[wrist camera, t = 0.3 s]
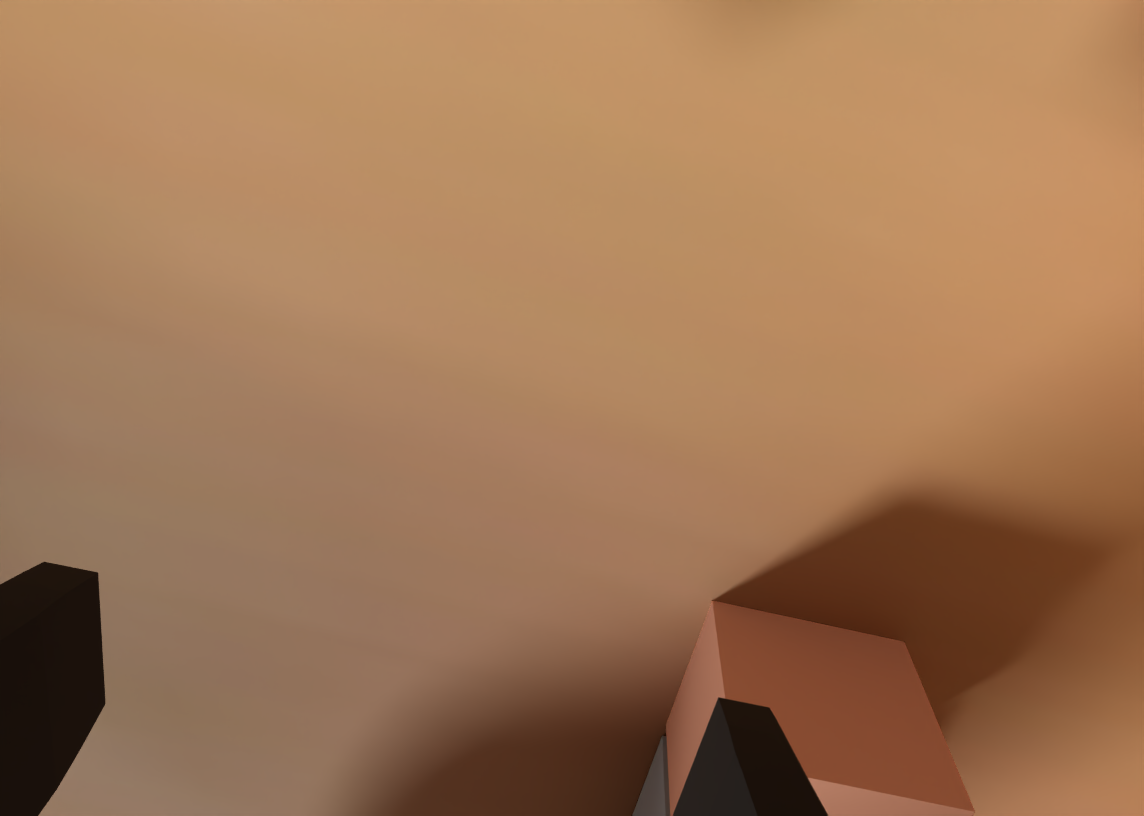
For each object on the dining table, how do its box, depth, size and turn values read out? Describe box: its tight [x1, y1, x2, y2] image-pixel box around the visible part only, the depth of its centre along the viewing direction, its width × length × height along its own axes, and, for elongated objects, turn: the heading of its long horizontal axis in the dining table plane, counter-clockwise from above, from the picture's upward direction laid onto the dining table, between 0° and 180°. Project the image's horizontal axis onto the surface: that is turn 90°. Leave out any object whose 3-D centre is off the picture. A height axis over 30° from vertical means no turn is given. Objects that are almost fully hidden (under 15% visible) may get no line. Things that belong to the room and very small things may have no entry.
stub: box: [666, 600, 975, 816], centre depth 20 cm, size 4×5×5 cm
